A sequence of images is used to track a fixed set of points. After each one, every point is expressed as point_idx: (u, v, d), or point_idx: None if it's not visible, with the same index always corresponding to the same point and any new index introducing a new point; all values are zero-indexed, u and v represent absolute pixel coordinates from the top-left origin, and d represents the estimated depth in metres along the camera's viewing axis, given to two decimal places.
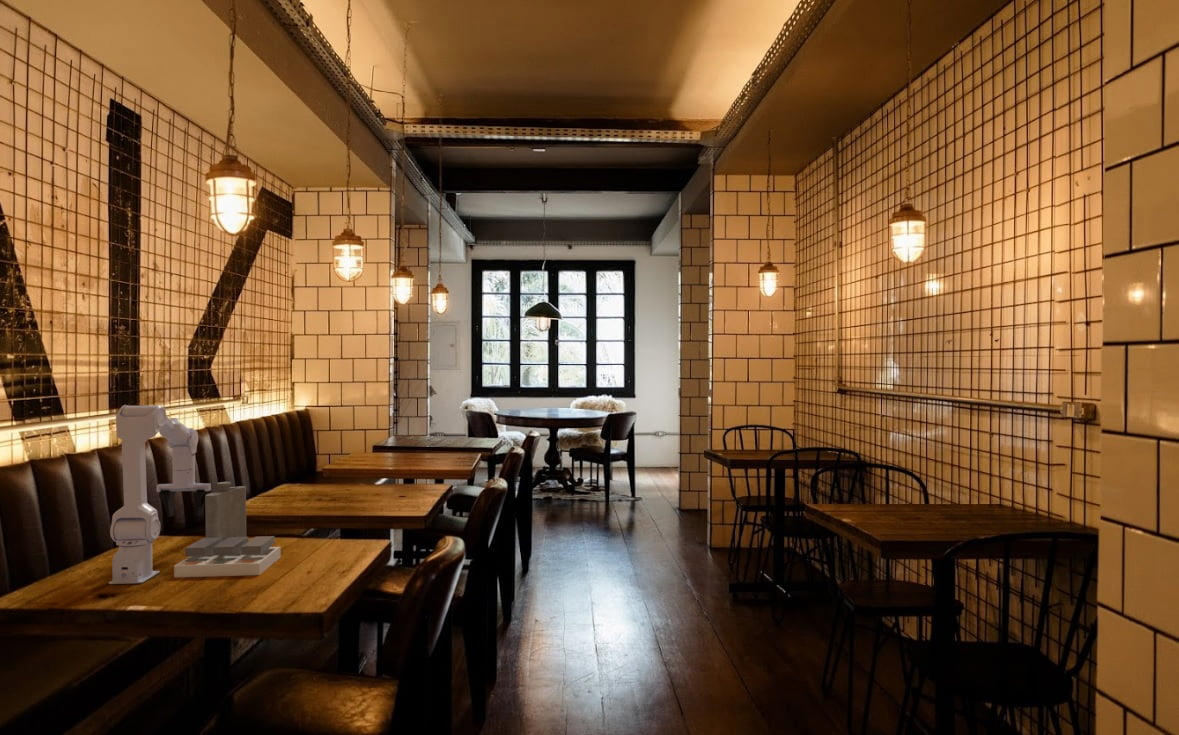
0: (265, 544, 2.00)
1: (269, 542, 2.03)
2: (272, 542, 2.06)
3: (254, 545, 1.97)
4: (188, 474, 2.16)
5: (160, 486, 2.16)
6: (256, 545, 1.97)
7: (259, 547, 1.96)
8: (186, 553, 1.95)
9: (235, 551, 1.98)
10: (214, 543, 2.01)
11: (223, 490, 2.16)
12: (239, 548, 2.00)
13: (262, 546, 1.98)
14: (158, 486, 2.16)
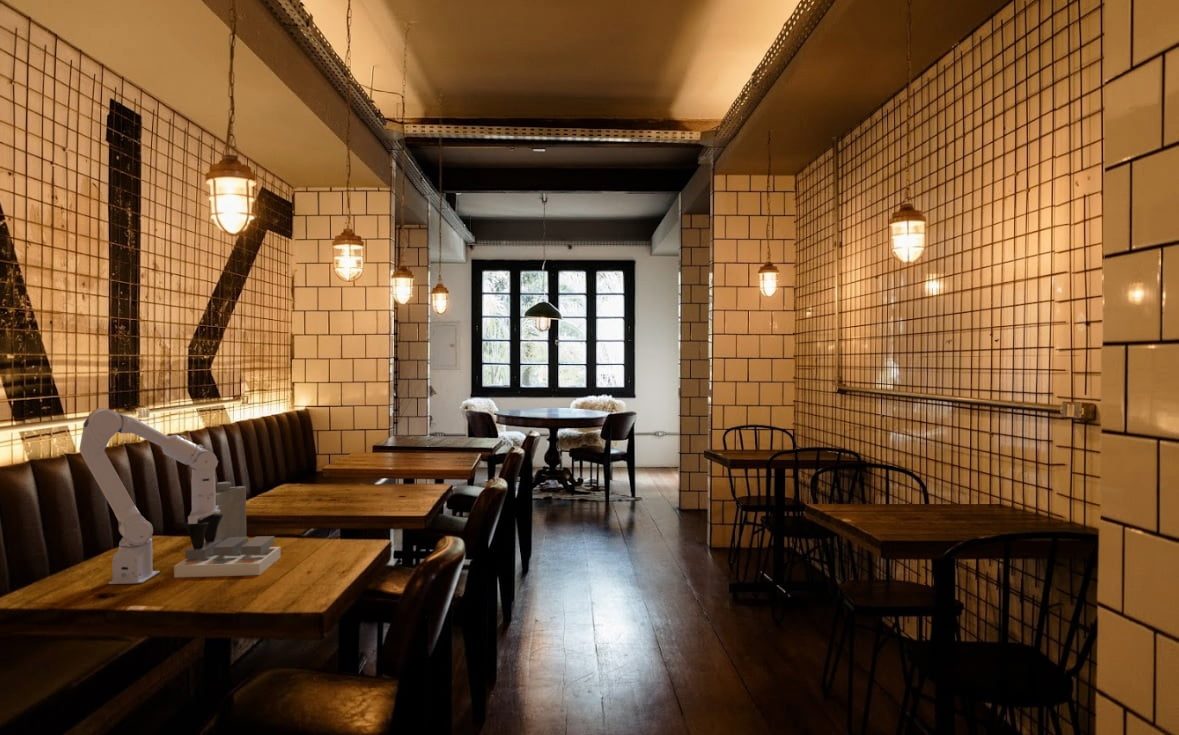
0: (265, 544, 2.00)
1: (269, 542, 2.03)
2: (272, 542, 2.06)
3: (254, 545, 1.97)
4: (192, 500, 1.98)
5: None
6: (256, 545, 1.97)
7: (259, 547, 1.96)
8: (186, 555, 1.95)
9: (235, 551, 1.98)
10: (214, 545, 2.01)
11: (223, 490, 2.16)
12: (239, 548, 2.00)
13: (262, 546, 1.98)
14: None
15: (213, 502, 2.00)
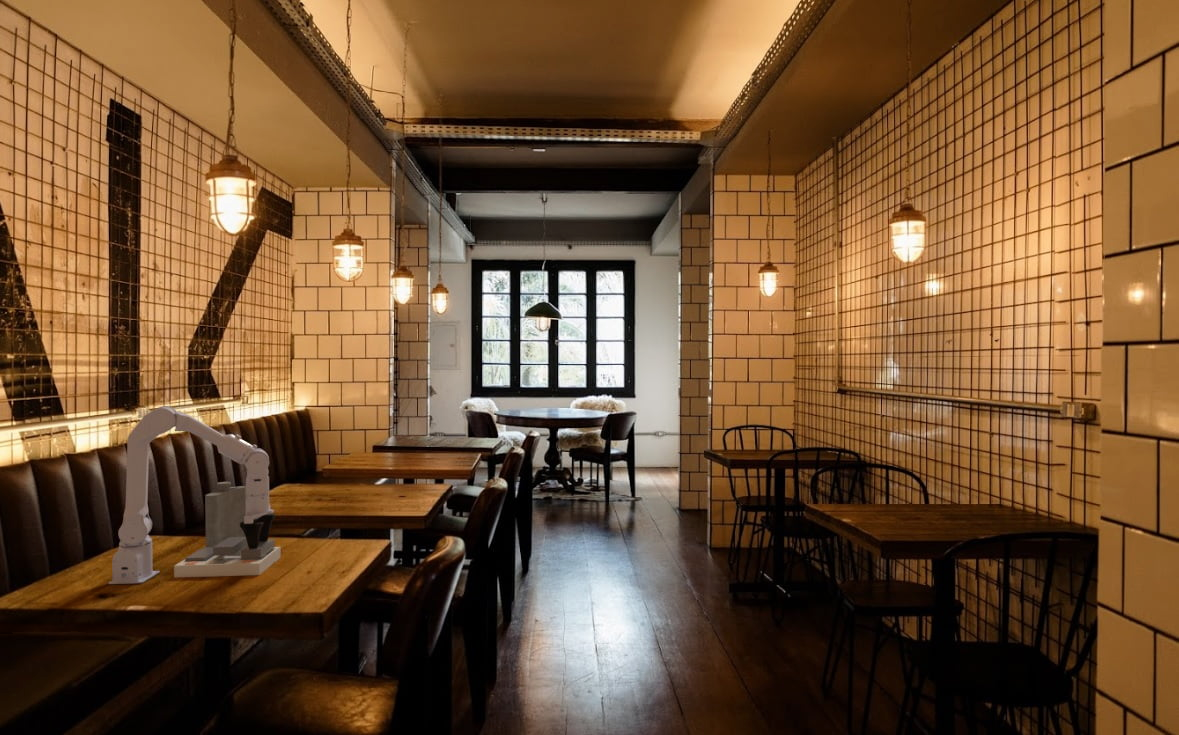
0: (265, 547, 2.00)
1: (269, 545, 2.03)
2: (272, 545, 2.06)
3: (254, 548, 1.97)
4: (247, 500, 1.99)
5: None
6: (256, 548, 1.97)
7: (259, 550, 1.96)
8: None
9: (235, 551, 1.98)
10: None
11: (223, 490, 2.16)
12: (239, 548, 2.00)
13: (262, 549, 1.98)
14: None
15: (267, 502, 2.01)
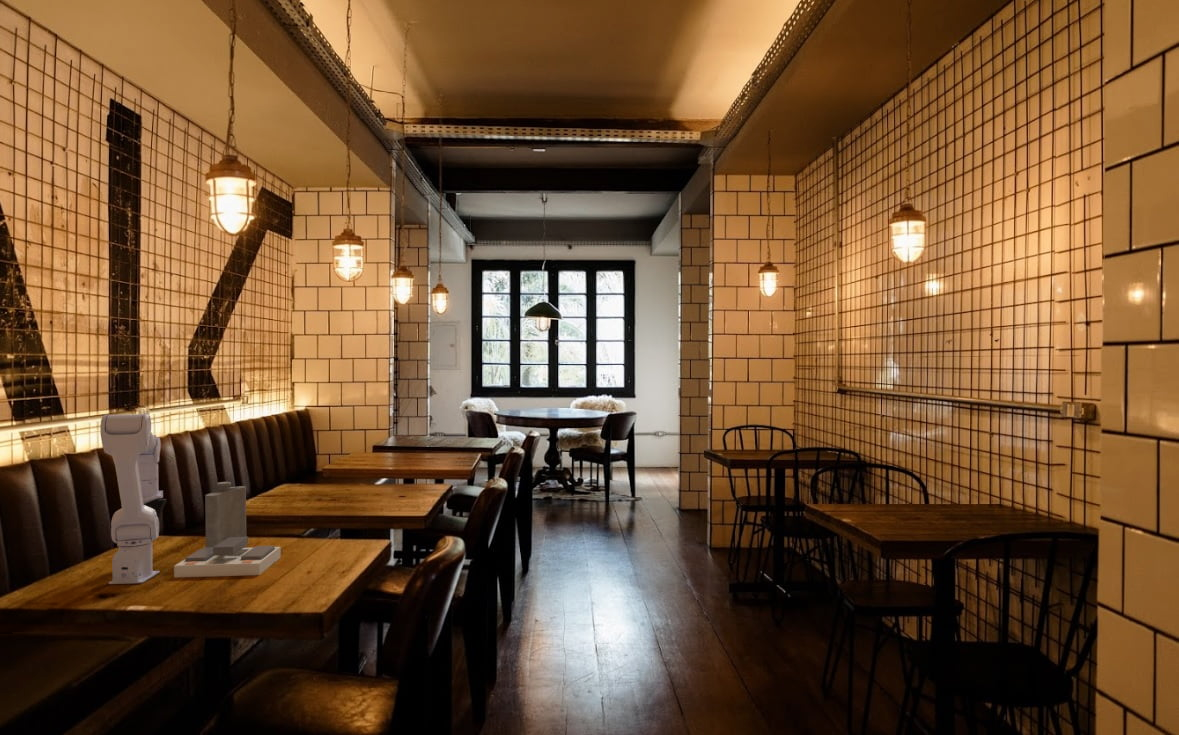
0: (265, 554, 2.00)
1: (269, 552, 2.03)
2: None
3: (254, 555, 1.97)
4: None
5: None
6: (256, 555, 1.97)
7: (259, 557, 1.96)
8: None
9: (235, 551, 1.98)
10: None
11: (223, 490, 2.16)
12: (239, 548, 2.00)
13: (262, 556, 1.98)
14: None
15: (155, 487, 2.03)
